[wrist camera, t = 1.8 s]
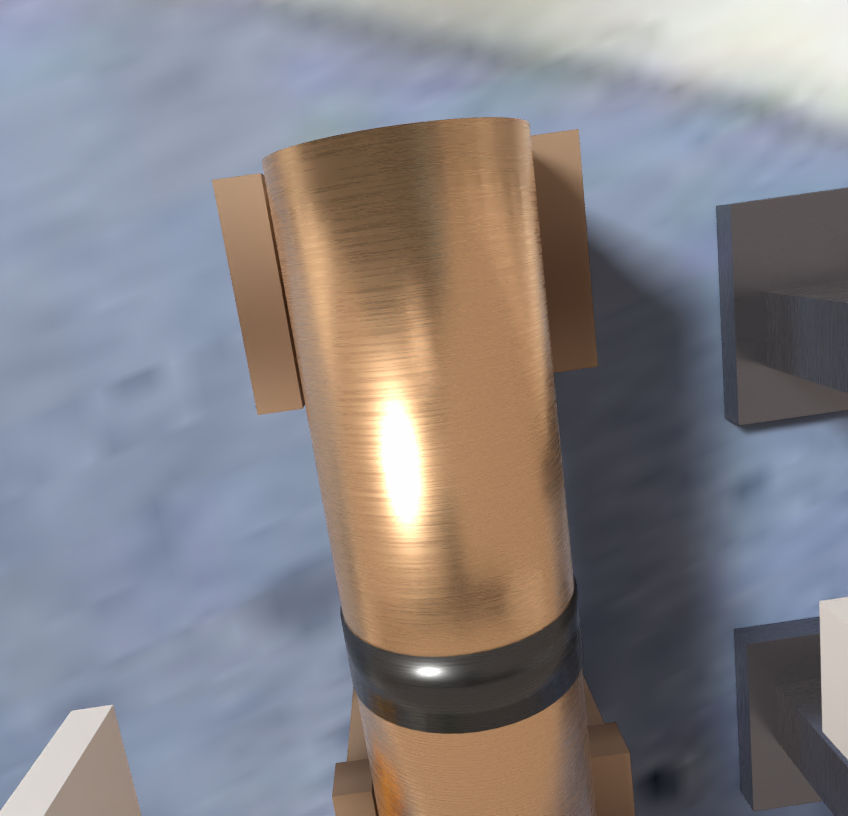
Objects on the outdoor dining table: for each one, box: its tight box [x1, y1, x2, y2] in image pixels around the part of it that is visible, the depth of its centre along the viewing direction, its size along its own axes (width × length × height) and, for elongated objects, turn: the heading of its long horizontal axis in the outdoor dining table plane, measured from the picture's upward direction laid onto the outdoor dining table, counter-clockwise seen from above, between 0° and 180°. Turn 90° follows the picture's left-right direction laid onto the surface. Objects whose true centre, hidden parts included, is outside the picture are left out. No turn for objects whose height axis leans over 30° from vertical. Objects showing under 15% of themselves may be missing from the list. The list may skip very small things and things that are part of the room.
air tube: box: [262, 117, 596, 816], centre depth 16 cm, size 20×5×5 cm, turn 8°
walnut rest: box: [212, 129, 635, 816], centre depth 21 cm, size 20×8×8 cm, turn 8°
